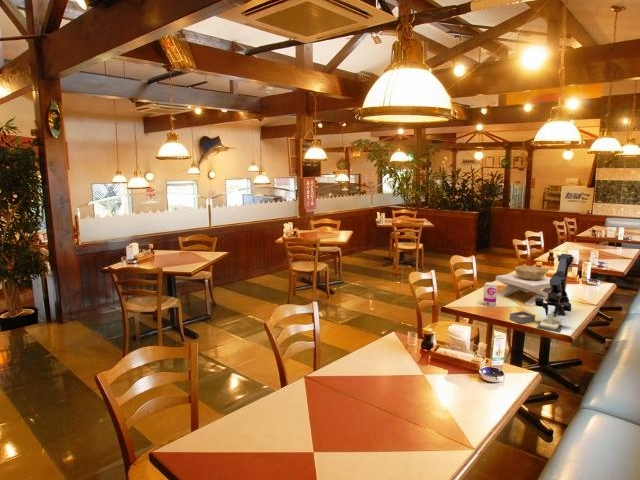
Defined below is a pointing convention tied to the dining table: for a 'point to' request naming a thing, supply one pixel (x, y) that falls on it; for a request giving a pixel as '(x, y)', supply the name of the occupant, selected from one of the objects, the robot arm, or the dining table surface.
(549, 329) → the rubber mat
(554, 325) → the lid
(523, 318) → the storage box
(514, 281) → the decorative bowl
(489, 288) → the supplement can
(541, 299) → the robot arm
